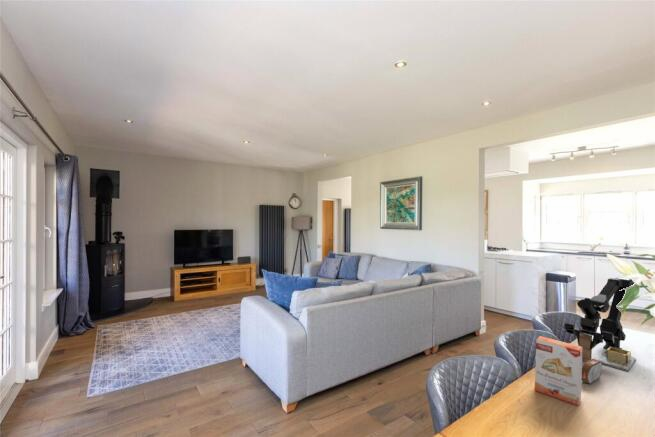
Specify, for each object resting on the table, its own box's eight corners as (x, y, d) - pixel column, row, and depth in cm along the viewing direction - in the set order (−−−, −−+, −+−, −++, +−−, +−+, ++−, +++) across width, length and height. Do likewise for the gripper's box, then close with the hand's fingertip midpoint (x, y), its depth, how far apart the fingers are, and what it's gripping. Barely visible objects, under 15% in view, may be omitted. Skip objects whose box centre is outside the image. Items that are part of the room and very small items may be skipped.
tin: (594, 374, 138) (594, 356, 138) (603, 378, 135) (603, 358, 135) (579, 383, 130) (579, 363, 130) (588, 387, 128) (588, 366, 128)
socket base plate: (606, 351, 162) (606, 342, 162) (635, 359, 154) (636, 349, 154) (596, 362, 150) (597, 352, 150) (628, 371, 141) (628, 360, 141)
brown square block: (581, 357, 155) (581, 333, 155) (591, 360, 152) (592, 335, 151) (578, 359, 152) (579, 334, 152) (589, 363, 149) (589, 337, 149)
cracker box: (534, 391, 124) (535, 339, 124) (537, 385, 128) (539, 335, 128) (579, 407, 114) (580, 350, 114) (581, 400, 118) (582, 345, 118)
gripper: (565, 306, 162) (558, 332, 155) (613, 316, 147) (607, 345, 140) (569, 319, 166) (562, 344, 160) (616, 329, 152) (611, 358, 145)
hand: (584, 347), depth 151 cm, fingers closed on brown square block, 4 cm apart
